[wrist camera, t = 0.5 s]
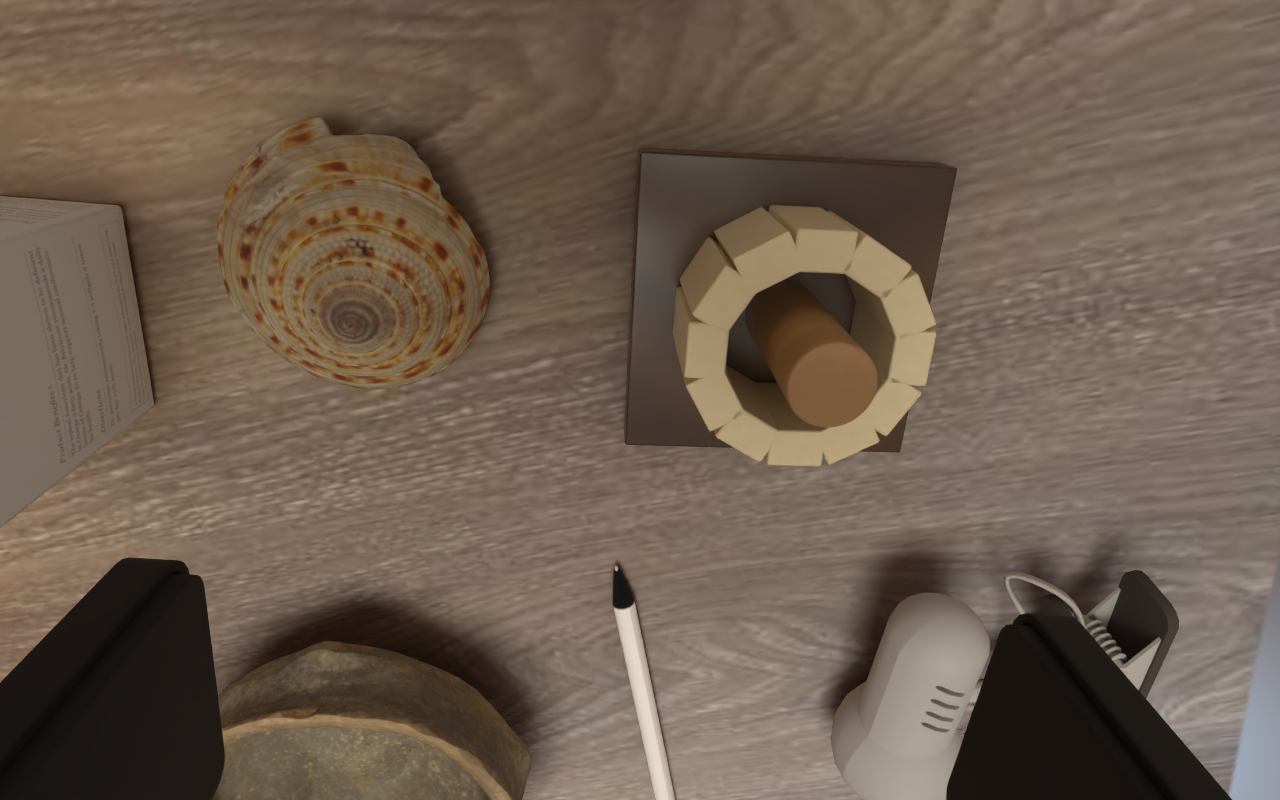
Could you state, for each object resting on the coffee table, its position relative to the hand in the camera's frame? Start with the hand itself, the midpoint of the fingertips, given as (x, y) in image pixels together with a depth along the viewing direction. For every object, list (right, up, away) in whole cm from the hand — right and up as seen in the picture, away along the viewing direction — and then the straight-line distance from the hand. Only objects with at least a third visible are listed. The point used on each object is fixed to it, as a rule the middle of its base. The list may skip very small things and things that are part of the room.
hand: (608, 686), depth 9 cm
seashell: (-9, +8, +17) cm, 21 cm away
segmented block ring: (+5, +6, +17) cm, 19 cm away
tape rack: (+5, +7, +18) cm, 20 cm away
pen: (+1, -12, +26) cm, 29 cm away
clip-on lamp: (+14, -10, +26) cm, 31 cm away
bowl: (-11, -12, +26) cm, 30 cm away
